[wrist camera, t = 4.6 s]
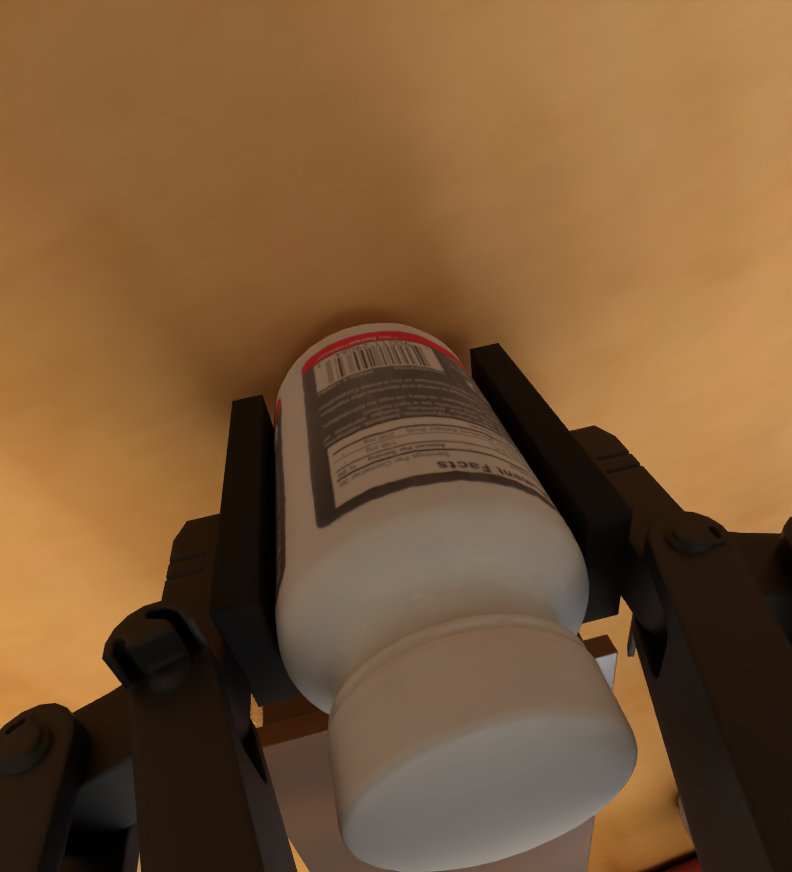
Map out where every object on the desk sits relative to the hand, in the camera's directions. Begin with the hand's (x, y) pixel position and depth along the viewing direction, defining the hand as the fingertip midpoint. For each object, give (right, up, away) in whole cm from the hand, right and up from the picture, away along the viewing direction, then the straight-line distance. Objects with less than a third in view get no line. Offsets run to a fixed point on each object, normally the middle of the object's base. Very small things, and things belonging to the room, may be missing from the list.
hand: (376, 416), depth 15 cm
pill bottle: (0, 0, 0) cm, 1 cm away
